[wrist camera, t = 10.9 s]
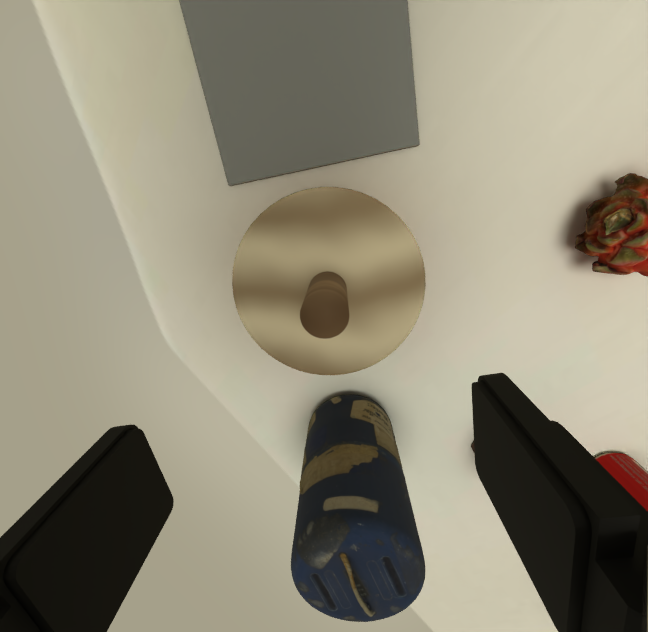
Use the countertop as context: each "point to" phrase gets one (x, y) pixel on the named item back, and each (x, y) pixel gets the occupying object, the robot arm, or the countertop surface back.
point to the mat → (303, 81)
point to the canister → (355, 516)
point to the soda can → (627, 474)
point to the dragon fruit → (619, 229)
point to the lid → (328, 281)
